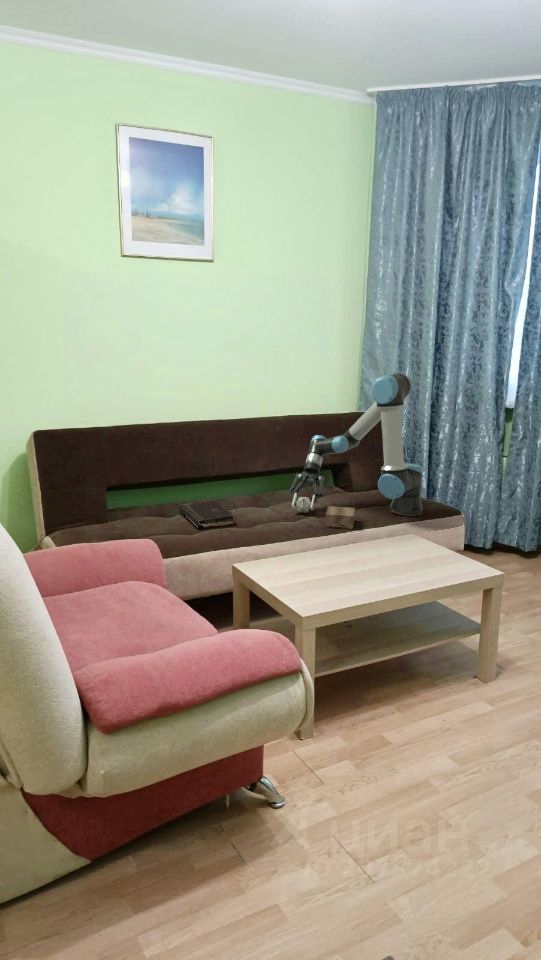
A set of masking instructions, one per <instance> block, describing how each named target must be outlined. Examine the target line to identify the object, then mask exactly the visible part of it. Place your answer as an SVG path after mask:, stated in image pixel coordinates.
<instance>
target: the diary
mask: <svg viewBox="0 0 541 960" xmlns="http://www.w3.org/2000/svg"><path fill="white" fill-rule="evenodd" d="M178 512H179V514H181V515H182V514H183V515H185V516H187V517H188V518H190V519H191V520H192V521H193V522H194V523H195V524H196V525H198V526H199V523H200V524H202V523H203V524H208V523H218V522H227V521H233V522H234V517H236V516H237V515H236V514H234V512H232V511H230V510H229V509H228V508H226V507H225V506H224V505H223V504H222V503H221V502H220V501H218V500H217V499H216V498H215V499H204V500H197V501H193V502H192V501H191V502H187V503H181V504H179V506H178ZM183 515H182V516H183ZM199 527H200V526H199Z"/></svg>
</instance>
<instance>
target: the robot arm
mask: <svg viewBox="0 0 541 960" xmlns="http://www.w3.org/2000/svg"><path fill="white" fill-rule="evenodd" d="M370 391H371V392H370V393H371V397H372V398H373V400H374V402H373V404H372V405H371V406H370V407H369V408H368V409H367V410H366V411H365V412H364V413H363V414H362V415H361V416H360V417H359V418H358V419H357V421H355V423H354V424H353V425H351V427H350V428H349V429H347V431H345V432H344V433H343V434H340V435H338V436H333V437H329V438H326V437H325V436H323V435H322V434H321V435H319V434H317V435H316V434H315V435H314V436H312V438H311V440H310V443H309V449H308V452H307V456H306V460H305V464H304V467H303V471H302V473H298V472H296V473H295V477H294V479H293V482H292V483H291V486H290V488H289V492H290V494H292V496H291V500H292V503H291V507H292V508H293V509H295V506H296V505H295V504H296V502H297V500H298V493H299V492H300V490H301V489H302V488H303V487H304V486H305V485H306V484H311V485H312V486H313V490H314V494H313V495H312V500H311V501H310V502H311V506H310V511H313V510H314V506H315V504H317V503H318V499H319V497H320V498H322V497H323V495H324V493H323V492H324V483H325V476H324V475H321V476H320V471H321V466H322V463H323V460H324V456H327V455H334V454H341V453H344V452H345V453H346V452H347V451H348V450H351V449H355V447H358V446H359V444H360V442H361V440H362V439H363V438H364V437H365V436H366V435H367V434H368V433H369V432H370V431H371V430H372V429H373V428H374V427H376V425H377V424H378V423H379V422H380V421H381V434H382V435H381V436H382V450H383V451H382V452H383V466H381V468H380V471H381V472H380V474H381V476H380V477H379V479H378V481H377V487H378V491H379V492H380V493H381V495H382V496H384V497H385V498H387V499H391V500H392V501H391V503H390V506H389V510H390V509H391V510H393V511H396V512H398V513H401V514H405V515H417V514H420V513H421V512H422V511H423V512H424V508H423V504H422V499H421V492H422V491H421V490H422V481H423V480H422V479H423V468H422V466H421V465H419V464H416V463H411V462H410V463H409V462H405V460H404V445H403V429H402V428H403V427H402V426H403V425H402V415H401V414H402V411H401V410H402V408H403V407H404V406H405V405H404V404H405V402H404V400H405V399H406V398H407V397H408V396H409V395H410V393H411V391H412V382H411V379H410V378H409V377H408V376H407V375H405V374H403V373H399V372H398V373H394V374H393V373H392V374H386V375H383V376H380V377H378V378H376V379H375V380H374V382H373V383H372V385H371V389H370ZM300 479H301V480H300ZM299 481H300V482H299ZM317 481H319V486H318V487H319V488H318V489H319V491H318V489H317V483H316V482H317ZM294 503H295V504H294Z"/></svg>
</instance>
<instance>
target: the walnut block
mask: <svg viewBox="0 0 541 960" xmlns="http://www.w3.org/2000/svg"><path fill="white" fill-rule="evenodd" d="M355 513H356V507H349V506H348V507H347V506H344V507H343V506H332V505H331V506H329V505H328V506H327V509H326V512H325V516H324V517H325V520H324V521H325V522H324V523H329V524H333V525H338V526H341V527H345V528H344V529H349V530H352V529H354V525H353V524H355V518H356V517H355V515H356V514H355Z"/></svg>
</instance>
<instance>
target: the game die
mask: <svg viewBox="0 0 541 960" xmlns="http://www.w3.org/2000/svg"><path fill="white" fill-rule="evenodd" d="M311 502H312V501H311V499H310V495H309V496H300V495H298V494H297V500H296V504H295V503H294V504H295V506H296V510H297V512H299V513H307V514H308V513H309V511H311V508H310V506H311Z"/></svg>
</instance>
